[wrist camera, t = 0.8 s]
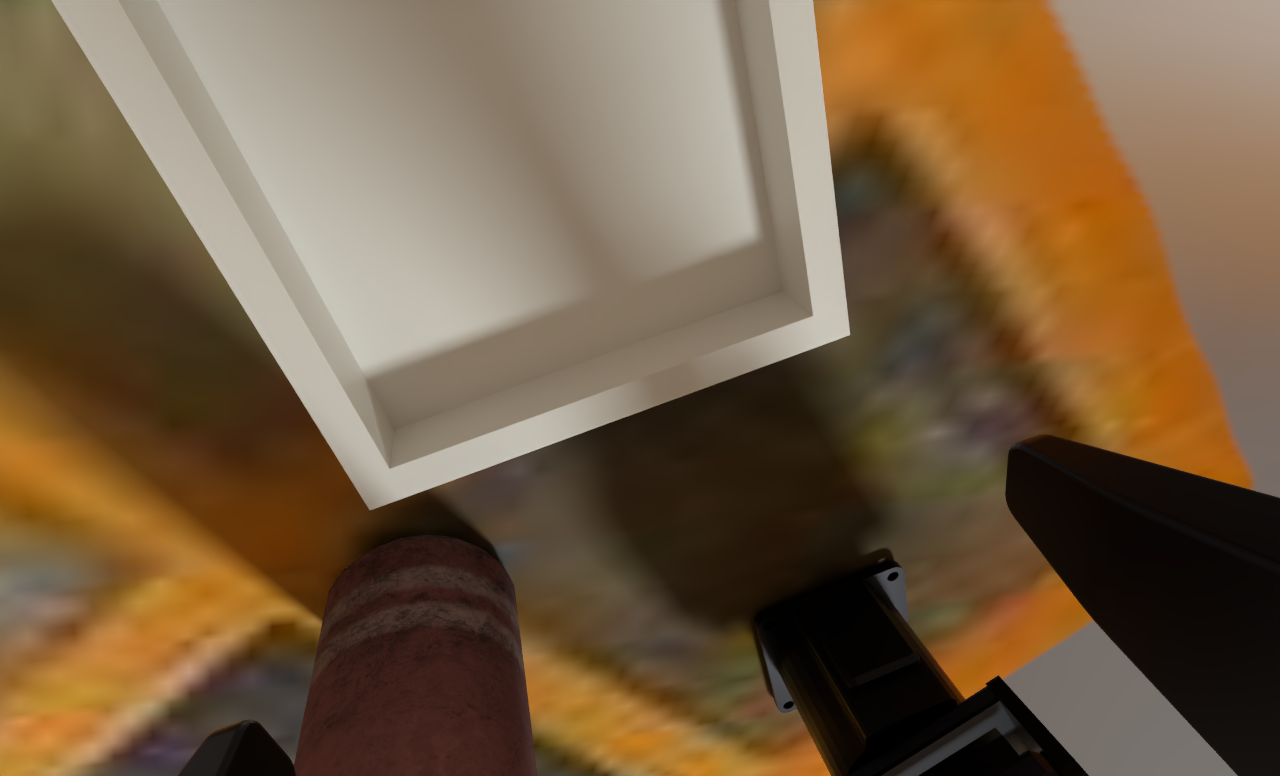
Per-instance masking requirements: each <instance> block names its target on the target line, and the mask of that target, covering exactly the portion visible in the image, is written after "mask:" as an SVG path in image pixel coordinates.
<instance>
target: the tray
mask: <svg viewBox="0 0 1280 776" xmlns="http://www.w3.org/2000/svg"><path fill="white" fill-rule="evenodd" d="M51 1H52V2H53V4H54V5H55V7H56V9H57V10H58V12H59V13H60V15H61V17H62V18H63V20H64V21H65V23H66V25H67V26H68V28H69V29H70V31H71V33H72V34H73V36H74V37H75V39H76V41H77V42H78V44H79V45H80V47H81V49H82V50H83V52H84V53H85V55H86V57H87V58H88V60H89V61H90V63H91V65H92V66H93V68H94V69H95V71H96V73H97V74H98V76H99V77H100V79H101V81H102V82H103V84H104V85H105V87H106V89H107V90H108V92H109V93H110V95H111V97H112V98H113V100H114V101H115V103H116V105H117V106H118V108H119V109H120V111H121V113H122V114H123V116H124V118H125V119H126V121H127V122H128V124H129V126H130V127H131V129H132V130H133V132H134V134H135V135H136V137H137V138H138V140H139V142H140V143H141V145H142V146H143V148H144V150H145V151H146V153H147V154H148V156H149V158H150V159H151V161H152V162H153V164H154V166H155V167H156V169H157V170H158V172H159V174H160V175H161V177H162V178H163V180H164V182H165V183H166V185H167V186H168V188H169V190H170V191H171V193H172V194H173V196H174V198H175V199H176V201H177V202H178V204H179V206H180V207H181V209H182V210H183V212H184V214H185V215H186V217H187V218H188V220H189V222H190V223H191V225H192V226H193V228H194V230H195V231H196V233H197V234H198V236H199V238H200V239H201V241H202V242H203V244H204V246H205V247H206V249H207V251H208V252H209V254H210V255H211V257H212V259H213V260H214V262H215V263H216V265H217V267H218V268H219V270H220V271H221V273H222V275H223V276H224V278H225V279H226V281H227V283H228V284H229V286H230V287H231V289H232V291H233V292H234V294H235V295H236V297H237V299H238V300H239V302H240V303H241V305H242V307H243V308H244V310H245V311H246V313H247V315H248V316H249V318H250V319H251V321H252V323H253V324H254V326H255V327H256V329H257V331H258V332H259V334H260V335H261V337H262V339H263V340H264V342H265V343H266V345H267V347H268V348H269V350H270V351H271V353H272V355H273V356H274V358H275V359H276V361H277V363H278V364H279V366H280V367H281V369H282V371H283V372H284V374H285V375H286V377H287V379H288V380H289V382H290V383H291V385H292V387H293V388H294V390H295V392H296V393H297V395H298V396H299V398H300V400H301V401H302V403H303V404H304V406H305V408H306V409H307V411H308V412H309V414H310V416H311V417H312V419H313V420H314V422H315V424H316V425H317V427H318V428H319V430H320V432H321V433H322V435H323V436H324V438H325V440H326V441H327V443H328V444H329V446H330V448H331V449H332V451H333V452H334V454H335V456H336V457H337V459H338V460H339V462H340V464H341V465H342V467H343V468H344V470H345V472H346V473H347V475H348V476H349V478H350V480H351V481H352V483H353V484H354V486H355V488H356V489H357V491H358V492H359V494H360V496H361V497H362V499H363V500H364V502H365V504H366V505H367V507H368V508H369V510H373V509H376V508H378V507H381V506H384V505H387V504H389V503H392V502H395V501H397V500H400V499H403V498H406V497H408V496H411V495H414V494H417V493H419V492H422V491H425V490H428V489H430V488H433V487H436V486H439V485H441V484H444V483H447V482H449V481H452V480H455V479H458V478H460V477H463V476H466V475H469V474H471V473H474V472H477V471H480V470H482V469H485V468H488V467H490V466H493V465H496V464H499V463H501V462H504V461H507V460H510V459H512V458H515V457H518V456H521V455H523V454H526V453H529V452H531V451H534V450H537V449H540V448H542V447H545V446H548V445H551V444H553V443H556V442H559V441H562V440H564V439H567V438H570V437H572V436H575V435H578V434H581V433H583V432H586V431H589V430H592V429H594V428H597V427H600V426H603V425H605V424H608V423H611V422H614V421H616V420H619V419H622V418H624V417H627V416H630V415H633V414H635V413H638V412H641V411H644V410H646V409H649V408H652V407H655V406H657V405H660V404H663V403H665V402H668V401H671V400H674V399H676V398H679V397H682V396H685V395H687V394H690V393H693V392H696V391H698V390H701V389H704V388H706V387H709V386H712V385H715V384H717V383H720V382H723V381H726V380H728V379H731V378H734V377H737V376H739V375H742V374H745V373H747V372H750V371H753V370H756V369H758V368H761V367H764V366H767V365H769V364H772V363H775V362H778V361H780V360H783V359H786V358H789V357H791V356H794V355H797V354H799V353H802V352H805V351H808V350H810V349H813V348H816V347H819V346H821V345H824V344H827V343H830V342H832V341H835V340H838V339H840V338H843V337H846V336H849V335H850V330H849V321H848V312H847V303H846V294H845V285H844V276H843V267H842V258H841V249H840V240H839V231H838V222H837V213H836V204H835V195H834V186H833V177H832V168H831V159H830V150H829V141H828V132H827V123H826V114H825V105H824V97H823V88H822V79H821V70H820V61H819V52H818V43H817V34H816V25H815V16H814V7H813V0H51Z"/></svg>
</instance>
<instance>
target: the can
mask: <svg viewBox="0 0 1280 776" xmlns="http://www.w3.org/2000/svg"><path fill="white" fill-rule="evenodd" d="M294 769H295V773H296V776H537V770H536V761H535V753H534V745H533V737H532V729H531V720H530V712H529V704H528V696H527V688H526V679H525V671H524V663H523V655H522V647H521V639H520V630H519V622H518V614H517V606H516V598H515V589H514V584H513V583H512V581H511V579H510V577H509V575H508V573H507V572H506V570H505V568H504V566H503V565H501V564H500V563H499V562H498V561H497V560H495V559H494V558H493V557H492V556H491V555H489V554H488V553H487V552H486V551H484V550H483V549H481V548H480V547H478V546H476V545H474V544H471V543H469V542H466V541H463V540H461V539H458V538H456V537H450V536H441V535H432V534H425V535H417V536H409V537H402V538H399V539H396V540H393V541H391V542H388V543H386V544H383V545H380V546H378V547H375V548H374V549H372V550H371V551H369V552H368V553H366V554H365V555H364V556H362V557H361V558H360V559H358V560H357V561H356V562H354V563H353V564H351V565H350V566H349V567H347V568H346V569H345V570H344V571H343V572H342V574H341V575H340V576H339V578H338V579H337V581H336V582H335V584H334V585H333V586H332V588H331V589H330V591H329V594H328V599H327V604H326V608H325V613H324V618H323V623H322V628H321V633H320V638H319V643H318V648H317V653H316V658H315V663H314V668H313V673H312V678H311V683H310V688H309V693H308V698H307V703H306V708H305V713H304V718H303V723H302V728H301V733H300V738H299V743H298V748H297V753H296V758H295V763H294Z"/></svg>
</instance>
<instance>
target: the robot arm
mask: <svg viewBox="0 0 1280 776" xmlns="http://www.w3.org/2000/svg"><path fill="white" fill-rule="evenodd" d="M1005 496H1006V501H1007V505H1008V507H1009V509H1010V511H1011V513H1012V515H1013V516H1014V518H1015V519H1016V520H1017V522H1018V523H1019V524H1020V526H1021V527H1022V528H1023V529H1024V531H1025V532H1026V533H1027V535H1028V536H1029V537H1030V539H1031V540H1032V541H1033V542H1034V544H1035V545H1036V546H1037V548H1038V549H1039V550H1040V552H1041V553H1042V554H1043V556H1044V557H1045V558H1046V559H1047V561H1048V562H1049V563H1050V565H1051V566H1052V567H1053V569H1054V570H1055V571H1056V573H1057V574H1058V575H1059V576H1060V578H1061V579H1062V580H1063V582H1064V583H1065V584H1066V586H1067V587H1068V588H1069V590H1070V591H1071V592H1072V593H1073V595H1074V596H1075V597H1076V599H1077V600H1078V601H1079V603H1080V604H1081V605H1082V606H1083V607H1084V609H1085V610H1086V611H1087V612H1088V614H1089V615H1090V616H1091V617H1092V619H1093V620H1094V621H1095V622H1096V623H1097V624H1098V625H1099V626H1100V628H1101V629H1102V630H1103V631H1104V632H1105V633H1106V634H1107V635H1108V637H1109V638H1110V639H1111V640H1112V641H1113V642H1114V643H1115V644H1116V645H1117V646H1118V647H1119V648H1120V649H1121V650H1122V652H1123V653H1124V654H1125V655H1126V656H1127V657H1128V658H1129V659H1130V660H1131V661H1132V662H1133V663H1134V665H1135V666H1136V667H1137V668H1138V669H1139V670H1140V671H1141V672H1142V673H1143V674H1144V675H1145V676H1146V677H1147V678H1148V680H1149V681H1150V682H1151V683H1152V684H1153V685H1154V686H1155V687H1156V688H1157V689H1158V690H1159V691H1160V692H1161V694H1162V695H1163V696H1164V697H1165V698H1166V699H1167V700H1168V701H1169V702H1170V703H1171V704H1172V705H1173V706H1174V707H1175V709H1177V711H1178V712H1179V713H1180V714H1181V715H1182V716H1183V717H1184V718H1185V719H1186V720H1187V721H1188V723H1189V724H1190V725H1191V726H1192V727H1193V728H1194V729H1195V730H1196V731H1197V732H1198V733H1199V734H1200V735H1201V736H1202V737H1203V739H1204V740H1205V741H1206V742H1207V743H1208V744H1209V745H1210V746H1211V747H1212V748H1213V749H1214V750H1215V751H1216V753H1217V754H1218V755H1219V756H1220V757H1221V758H1222V759H1223V760H1224V761H1225V762H1226V763H1227V764H1228V765H1229V767H1230V768H1231V769H1232V770H1233V771H1234V772H1235V773H1236V774H1237V775H1238V776H1280V498H1279V497H1275V496H1271V495H1268V494H1264V493H1260V492H1257V491H1253V490H1250V489H1246V488H1242V487H1239V486H1235V485H1231V484H1228V483H1224V482H1220V481H1217V480H1213V479H1210V478H1206V477H1202V476H1199V475H1195V474H1191V473H1188V472H1184V471H1180V470H1177V469H1173V468H1169V467H1166V466H1162V465H1159V464H1155V463H1151V462H1148V461H1144V460H1140V459H1137V458H1133V457H1129V456H1126V455H1122V454H1119V453H1115V452H1111V451H1108V450H1104V449H1100V448H1097V447H1093V446H1089V445H1086V444H1082V443H1079V442H1075V441H1071V440H1068V439H1064V438H1060V437H1057V436H1053V435H1048V434H1043V435H1038V436H1035V437H1032V438H1029V439H1026V440H1024V441H1021V442H1018V443H1016V444H1014V445H1013V446H1012V447H1011V449H1010V450H1009V453H1008V464H1007V478H1006V492H1005ZM754 624H755V628H756V632H757V635H758V639H759V643H760V647H761V651H762V655H763V659H764V662H765V666H766V670H767V674H768V678H769V682H770V685H771V689H772V693H773V697H774V701H775V703H776V705H777V708H778V710H779V711H780V712H782V713H787V712H791V711H793V710H795V709H798V711H799V713H800V715H801V717H802V719H803V721H804V723H805V725H806V727H807V729H808V731H809V733H810V735H811V737H812V739H813V741H814V743H815V745H816V747H817V749H818V751H819V753H820V755H821V757H822V759H823V761H824V762H825V764H826V766H827V768H828V770H829V772H830V774H831V776H1089V775H1088V774H1087V773H1086V772H1085V771H1084V770H1083V768H1082V767H1081V766H1080V765H1079V764H1078V763H1077V762H1076V761H1075V759H1074V758H1073V757H1072V756H1071V755H1070V754H1069V753H1068V752H1067V751H1066V750H1065V749H1064V747H1063V746H1062V745H1061V744H1060V743H1059V742H1058V741H1057V740H1056V739H1055V737H1054V736H1053V735H1052V734H1051V733H1050V732H1049V731H1048V730H1047V728H1046V727H1045V726H1044V725H1043V724H1042V723H1041V722H1040V721H1039V720H1038V719H1037V718H1036V716H1035V715H1034V714H1033V713H1032V712H1031V711H1030V710H1029V709H1028V707H1027V706H1026V705H1025V704H1024V703H1023V702H1022V701H1021V700H1020V699H1019V698H1018V696H1017V695H1016V694H1015V693H1014V692H1013V691H1012V690H1011V689H1010V688H1009V687H1008V685H1007V684H1006V683H1005V682H1004V681H1003V680H1002V679H1001V678H1000V677H999V676H997V677H995V678H993V679H992V680H990V681H989V682H987V683H986V685H987V686H986V687H985V688H983V689H982V690H980V691H979V692H977V693H975V694H974V695H972V696H971V697H969V698H967V699H966V700H965V698H964V697H963V696H962V694H961V693H960V692H959V690H958V689H957V688H956V686H955V685H954V684H953V682H952V681H951V680H950V679H949V677H948V676H947V675H946V673H945V672H944V671H943V669H942V668H941V667H940V665H939V664H938V663H937V661H936V660H935V659H934V657H933V656H932V655H931V653H930V652H929V651H928V650H927V648H926V647H925V646H924V644H923V643H922V642H921V640H920V639H919V638H918V636H917V635H916V634H915V632H914V631H913V630H912V628H911V627H910V626H909V625H908V615H907V602H906V590H905V578H904V571H903V569H902V568H901V566H900V565H899V564H898V563H897V562H896V561H887V562H885V563H882V564H879V565H877V566H874V567H872V568H869V569H867V570H864V571H862V572H859V573H857V574H854V575H852V576H849V577H847V578H844V579H842V580H839V581H837V582H834V583H832V584H829V585H827V586H824V587H821V588H819V589H816V590H814V591H811V592H809V593H806V594H804V595H801V596H799V597H796V598H794V599H791V600H789V601H786V602H784V603H781V604H779V605H776V606H774V607H771V608H769V609H766V610H764V611H762V612H760V613H759V614H758V615H757V616H756V617H755V619H754ZM177 776H296V773H295V769H294V765H293V763H292V761H291V759H290V758H289V756H288V755H287V754H286V753H285V752H284V751H283V749H282V748H281V747H280V746H279V745H278V744H277V743H276V741H275V740H274V739H273V738H272V737H271V736H270V735H269V733H268V732H267V731H266V730H265V729H264V728H263V727H262V725H261V724H260V723H258V722H257V721H254V720H251V719H250V720H244V721H241V722H239V723H236V724H233V725H230V726H227V727H225V728H222V729H219V730H217V731H215V732H213V733H211V734H210V735H209V736H208V737H207V738H206V739H205V740H204V741H203V743H202V744H201V745H200V746H199V748H198V749H197V750H196V752H195V753H194V754H193V756H192V757H191V758H190V760H189V761H188V762H187V763H186V765H185V766H184V767H183V769H182V770H181V771H180V773H179V774H178V775H177Z"/></svg>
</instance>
